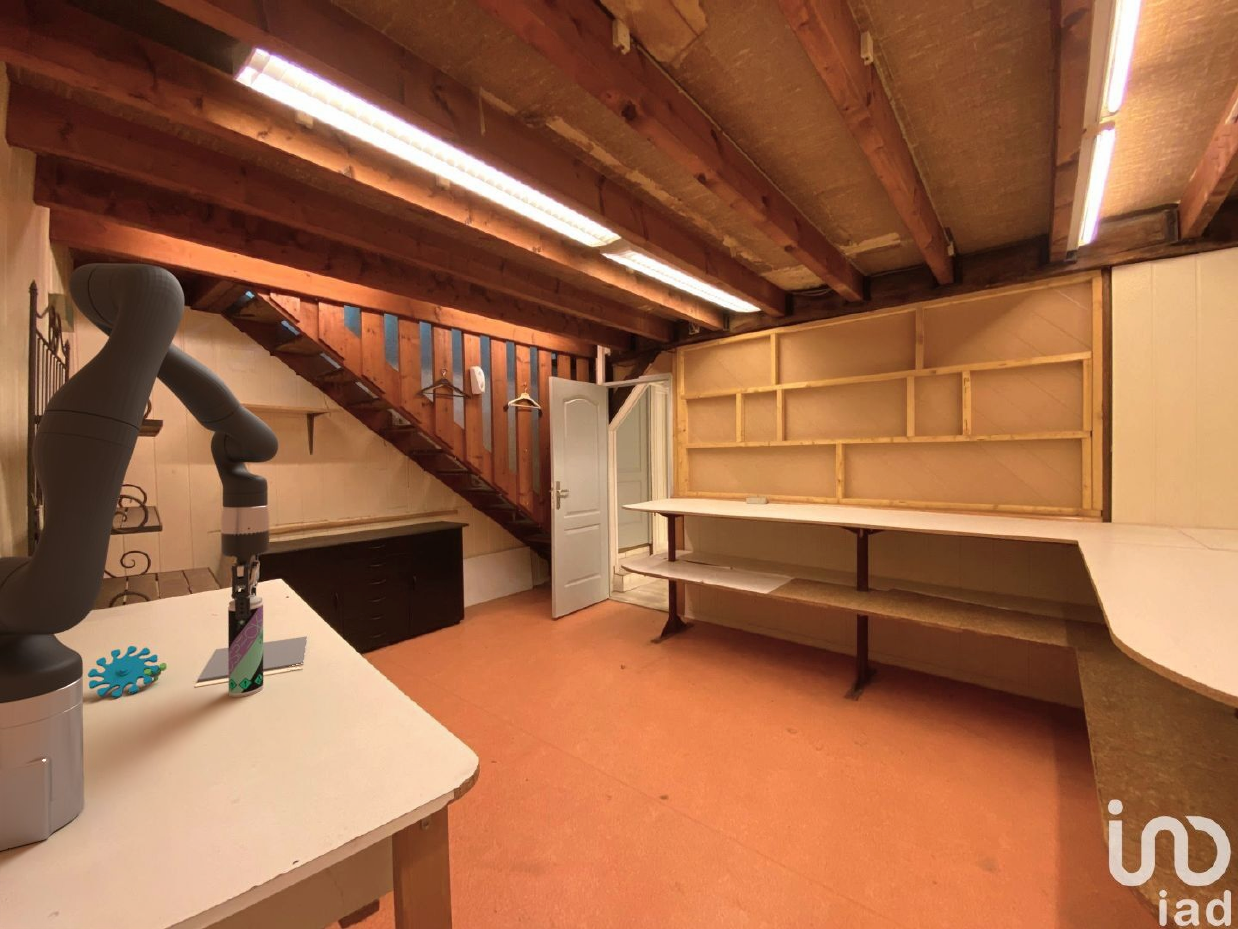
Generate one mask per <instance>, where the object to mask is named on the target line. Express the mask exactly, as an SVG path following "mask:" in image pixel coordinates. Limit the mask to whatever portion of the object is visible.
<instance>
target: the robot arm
mask: <svg viewBox="0 0 1238 929" xmlns="http://www.w3.org/2000/svg"><path fill="white" fill-rule="evenodd" d="M68 289H69V293H70V298H71V300H72V301H73V303H74V305H75V306H76V307H77V309H78V310H79V311H80V313H81V314H82V315H84V317H85V318H86V319H87V320H89V322H91V323H92V324H93V325H94V326H95V327H96V328H98V330H100V331H101V332H102V333H103V334H104V335H106V336H107V337H108V339H107V341H106V342H105V343H104V345H103V347H102V348H101V349H100V350H99V352H98V353H97V354H96V355H95V356H94V357H93V358H92V359H91V360H89V362H87V363H86V364H85V365H83V367H81V368H80V369H79V370H77V372H75V373H74V374H73V375H72V376H71V377H70V378H69V379H68V380H67V381H65V382H64V383H63V384H62V385H61V386H60V387H59V388H58V389H57V390H56V391H55V393H53V395H52V396H51V398H50V399H49V401H48V402H47V404H46V405H45V406H46V407H45V408H44V410H43V413H42V417H41V419H40V422H39V424H38V428H37V429H36V433H35V436H34V439H33V442H32V448H31V456H32V464H33V466H34V467H33V468H34V472H35V475H36V477H37V481H38V484H39V486H40V490H41V492H42V496H43V499H44V500H43V501H44V509H45V512H44V521H43V526H42V529H41V532H40V535H39V539H38V542H37V544H36V547H35V550H34V551H33V555H32V556H25V555H23V556H20V555H19V556H16V555H15V556H4V557H2V556H1V557H0V851H4V850H8V848H9V849H11V848H15V847H21V846H24V845H27V844H32V843H36V842H40V841H43V840H46V839H49V838H50V836H51V835H52V834H53V833H54V832H55V831H58V830H59V829H60V828H62V827H64V826H65V825H67V824H68V823H70V822H72V821H73V820H74V819H75V818H76V817H77V816H79V814H81V812H82V811H83V809H84V806H85V788H84V787H85V783H84V781H85V778H84V777H85V776H84V774H85V773H84V771H85V770H84V768H85V767H84V710H83V709H84V703H83V702H84V701H83V700H84V677H83V673H84V665H83V663H84V661H83V657H82V655H81V654H80V653H79V652H77V651H76V650H74V649H72V648H71V647H68V646H67V645H65V644H64V643H62V642H61V641H60V639H58V638H57V637H56V635H55V634H61V633H64V632H66V631H69V630H71V629H72V628H75V627H76V626H77V625H79V624H80V623H81V622H82V621H83V620H85V619H86V617H87V616H88V615H89V614H90V613H91V611H92V610H93V608H94V606H95V605H96V602H97V601H98V599H99V596H100V593H101V589H102V586H103V583H104V582H103V581H104V576H105V570H106V565H107V561H108V560H107V559H108V553H109V546H110V540H111V534H112V527H113V523H114V519H115V515H116V511H117V508H118V503H119V500H120V497H121V493H122V488H123V485H124V481H125V477H126V474H127V470H128V468H129V465H130V462H131V460H132V457H133V454H134V451H135V448H136V444H137V442H138V439H139V435H140V431H141V428H142V424H143V419H144V416H145V412H146V409H147V405H148V403H149V400H150V397H151V394H152V391H153V388H154V384H155V382H156V379H158V380H159V381H160V382H161V383H162V384H164V386H166V387H167V389H168V390H170V391H171V393H173V395H174V396H175V397H176V399H178V400H179V401H180V402H181V404H183V406H184V408H186V410H188V412H189V413H190V414H191V416H192V417H193V418H195V420H196V421H197V422H198V423H199V424H200V425H201V426H202V427H203V428H204V429H205V430H206V429H207V430H208V431H210V432H214V434H213V435H212V437H211V440H210V452H211V455H212V458H213V462H214V464H215V467H216V470H217V473H218V477H219V478H220V482H221V485H222V512H221V516H220V517H221V518H220V520H221V521H220V525H221V526H220V528H221V529H220V532H221V534H220V540H221V541H220V543H221V544H220V546H221V547H220V548H221V549H220V551H221V555H222V556H224V557H229V558H231V557H235V558H236V561H235V562H234V564H233V565H232V566H231V575H232V576H231V594H230V595H231V596H230V597H231V598H232V600H235V618H236V619H237V620H239V619H247V618H249V617H250V597H251V589H252V592H253V593H254V594H255V596H257V587H258V584H259V580H260V565H261V563H260V560H259V557H260V555H263V554H265V553H268V552H269V550H270V512H269V507H268V504H269V503H268V500H269V498H268V497H269V496H268V495H269V494H268V491H269V490H268V481H267V478H266V477H264V476H263V475H258V474H253V473H251V472H249V470H248V467H247V466H246V463H255V464H256V463H266V462H268V461H271V460H272V459H273V458H275V456H277V453H278V451H279V442H278V441H279V440H278V437H277V436H276V433H275V432H274V431H273V429H272V428H271V427H270V426H269V425H268V424H267V423H266V422H264V421H263V420H262V418H261V419H260V418H259V416H257V415H255V414H254V413H253V412H252V411H250V410H249V409H248V408H246V407H245V406H243V405H242V404H241V402H240V401H239V400H238V398H237V397H236V396H235V395H234V392H232V390H231V389H230V388H229V386H228V385H227V384H226V383H225V381H224V380H223V379H222V378H221V377H220V376H219V375H218V374H216V373H215V371H213V370H212V369H211V368H209V367H208V366H206V365H205V364H203V363H202V362H200V361H199V360H197V359H196V358H195V357H193V356H191V355H190V354H188V353H187V352H185V351H184V350H183V349H181V348H179V347H178V346H177V345H175V343H173V340H174V338H175V336H176V334H177V331H178V329H179V327H180V324H181V321H182V319H183V317H184V316H183V315H184V311H185V295H184V290H183V288H182V286H181V283H180V282H179V280H178V279H177V278H176V276H175V275H173V274H172V273H171V272H170V271H168V270H167V269H165V268H164V267H163V268H162V267H160V266H157V265H151V264H143V263H109V262H108V263H107V262H105V263H104V262H103V263H101V262H99V263H88V264H83V265H81V266H78V267H77V268H76V269H74V270H73V272H72V273H71V274H70V276H69V280H68ZM242 588H245V591H241V589H242ZM239 590H240V591H239Z"/></svg>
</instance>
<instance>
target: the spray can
mask: <svg viewBox="0 0 1238 929" xmlns="http://www.w3.org/2000/svg"><path fill="white" fill-rule="evenodd" d="M240 591H245V588H240ZM263 600H264V599H263V597H259V596H257V595H256V596H255V594H254V593H253V592H252V589H251V597H250V617H249V618H247V619H239V620H237V619H236V618H235V600H234V599H232V600H230V601H229V602H228V605H229V606H228V608H227V609H228V610H227V612H228V613H227V614H228V616H227V619H228V621H227V622H228V625H227V626H228V627H227V628H228V629H227V630H228V634H227V636H228V638H227V640H228V647H227V648H228V670H229V677H228V678H229V682H228V695H229V697H232V698H241V697H242V698H243V697H248V696H251V695H254V694H256V693H258V692H260V691H261V690H263V688H264V676H263V672H264V671H263V643H264V601H263Z"/></svg>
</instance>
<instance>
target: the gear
mask: <svg viewBox="0 0 1238 929" xmlns="http://www.w3.org/2000/svg"><path fill="white" fill-rule="evenodd" d="M126 650H127V651H126V653H125V654H124V655H123V656H122V657H119V656H120V655H121V652H122V651H121V649H118V648H117V649H114V650H111V652H110V655H111V657H112V662H110V663H108V664H107V658H106V657H103V656H102V657H101V658H98V659H97V660H96V661H95V663H96V665H97V666H98V667H102V668H103V669H104V671H103V672H99V671H98V669H97V668H92V669H90V670H89V671H88V673H87V676H88V678H95V677H98V678H102V679H103V680H100V681H99V680H96V679H91V680H90V681H89V682H88V687H89V689H90V690H93V689H96V688H97V687H99V686H103V685H108V686H107V687H101V688H98V689H97V690H96V693H97V695H98V696H100V698H101V697H104V696H105V695H106V694H107V693H108V692H110V690H112V689H115V688H117V687H119V688H118V689H116V690H114V691H112V692H111V697H113V698H121V697H122V695H123V694H122V693H123V691H124V689H125V688H126V687H127V686H129V685H131V686H129V689H128V693H129V694H134V693H138V692H139V686H138V684H137V682H138V680H139V679H142V682H143V685H145V686H147V685H148V684H150V683H152V682H153V681H158V680H159V677H160V676H161V674H162V672H164V671H166V670H167V668H168V666H167V663H166V662H162V663H160V664H159V665H158V664H154V663H157V662H158V654H153V655H151V656H148V655H150V654H151V649H149V647H144V648H142V649H141V651H140V652H138V653H136V652H137V650H138V648H137V646H134V645H129V646H127V649H126ZM134 653H136V654H134ZM132 654H134V655H132ZM131 655H132V656H131ZM143 656H148V657H143ZM118 657H119V658H118ZM140 657H143V658H140ZM147 662H149V663H152V664H154V665H147V664H146V663H147Z"/></svg>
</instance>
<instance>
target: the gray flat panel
mask: <svg viewBox="0 0 1238 929" xmlns="http://www.w3.org/2000/svg"><path fill="white" fill-rule="evenodd" d="M306 639H307V640H308V637H307V636H299V637H294V638H287V639H286V638H285V639H278V640H272V641H265V642H264V641H263V677H265V676H264V675H266V676H271V675H277V674H283V673H282V672H284V673H287V672H286V671H290V670H287V669H301V668H299V666H292V665H296V664H301V663H303V664H304V662H303V660H304V661H305V655H304V653H306V648H305V646H306V645H307V640H306ZM306 647H307V646H306ZM289 666H292V667H289ZM285 667H286V668H285ZM295 667H297V668H295ZM273 669H274V670H273ZM290 672H291V671H290ZM225 683H229V670H228V647H224V648H216V649H215V650H214V652H213V654H212V655H211V657H210V659H209V660H208V662H207V664H206V665H205V667H204V669H203V670H202V672H201V674H200V675H199V677H198V679H197V683H196V684H195V686H194V688H201V687H206V686H212V685H217V684H225Z"/></svg>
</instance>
